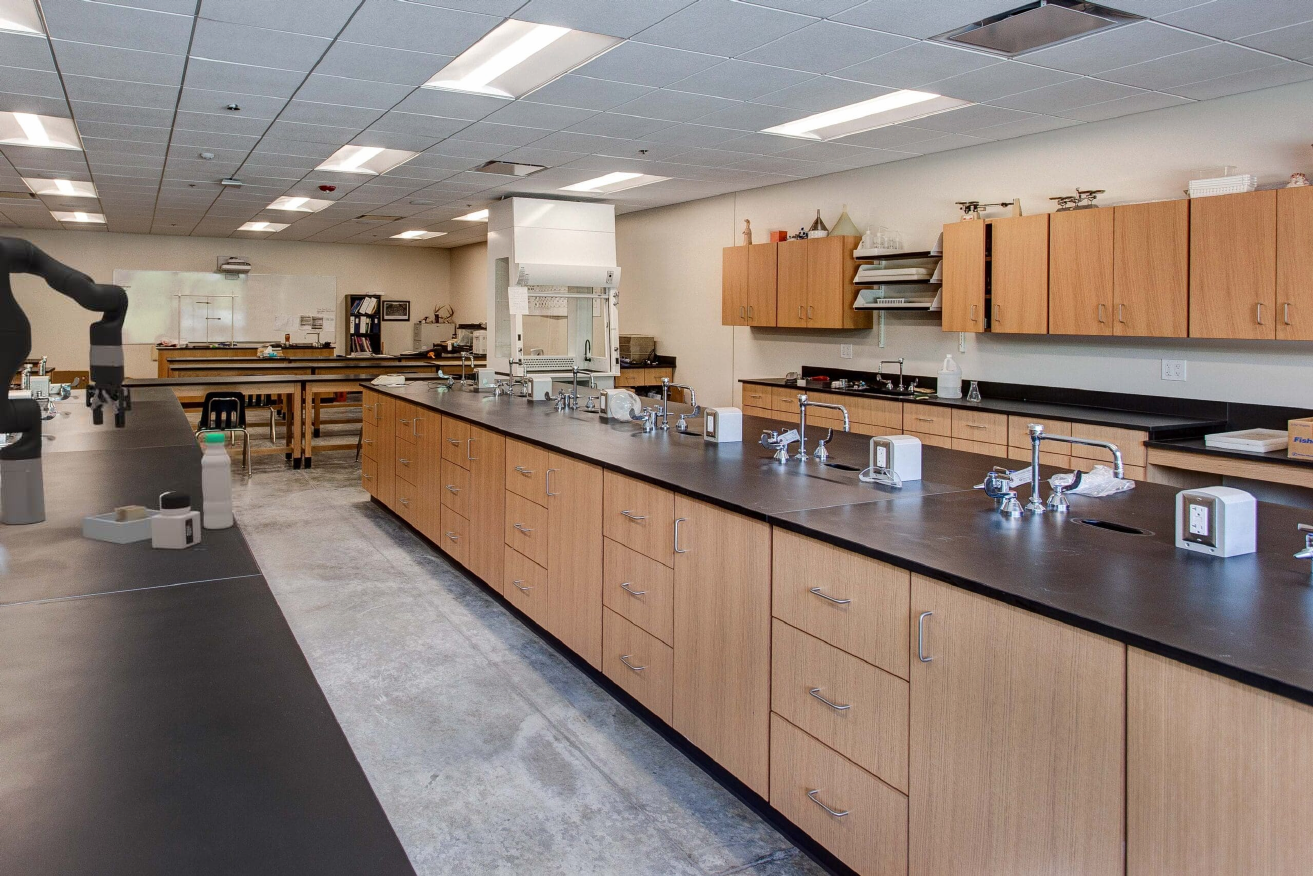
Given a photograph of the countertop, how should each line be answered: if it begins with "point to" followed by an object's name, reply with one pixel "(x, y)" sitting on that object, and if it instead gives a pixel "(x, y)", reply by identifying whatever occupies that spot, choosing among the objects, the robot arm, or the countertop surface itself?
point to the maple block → (130, 513)
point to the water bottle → (216, 483)
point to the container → (175, 522)
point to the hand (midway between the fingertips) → (109, 426)
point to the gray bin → (118, 528)
